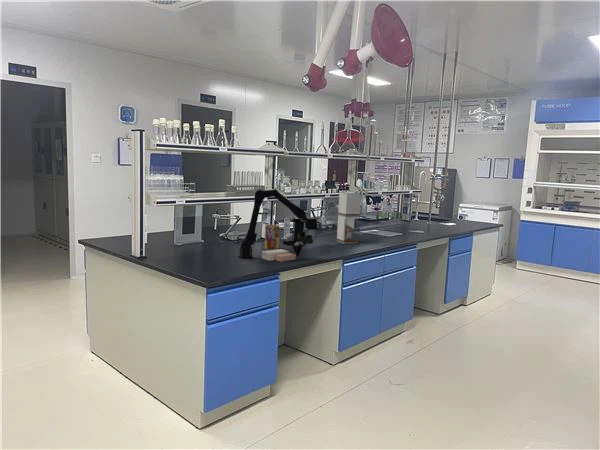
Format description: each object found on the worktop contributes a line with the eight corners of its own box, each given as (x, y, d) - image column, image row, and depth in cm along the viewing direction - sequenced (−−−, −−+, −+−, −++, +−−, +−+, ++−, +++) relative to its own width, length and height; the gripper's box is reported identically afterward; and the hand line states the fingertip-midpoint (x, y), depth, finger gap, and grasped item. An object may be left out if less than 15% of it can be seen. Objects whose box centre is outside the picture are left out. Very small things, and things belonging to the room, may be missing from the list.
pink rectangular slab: (280, 261, 247) (280, 256, 247) (274, 259, 251) (274, 254, 251) (295, 259, 254) (295, 254, 254) (289, 257, 258) (289, 253, 258)
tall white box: (344, 243, 314) (346, 194, 309) (336, 241, 323) (339, 193, 319) (357, 243, 319) (360, 194, 314) (350, 240, 328) (353, 193, 323)
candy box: (278, 248, 288) (279, 224, 286) (278, 249, 284) (279, 225, 282) (264, 247, 287) (265, 224, 285) (264, 248, 283) (265, 225, 281)
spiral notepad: (270, 260, 249) (270, 253, 249) (261, 258, 255) (261, 250, 255) (289, 258, 259) (289, 251, 258) (280, 255, 265) (280, 248, 264)
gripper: (295, 232, 245) (294, 260, 247) (320, 230, 257) (318, 256, 259) (283, 229, 253) (281, 256, 255) (307, 227, 265) (305, 253, 267)
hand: (297, 256), depth 259 cm, fingers closed
